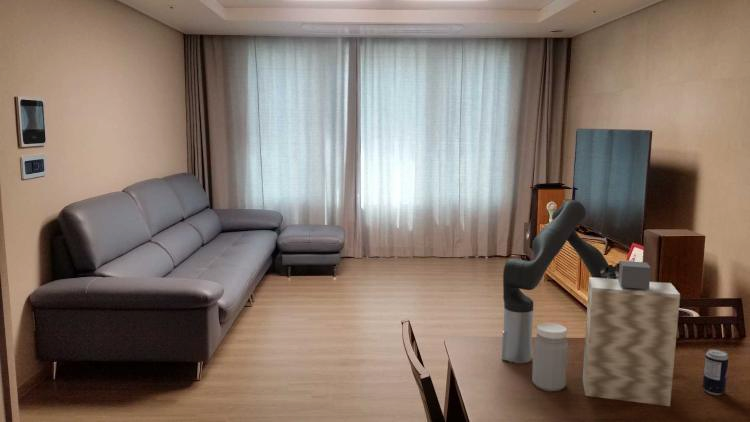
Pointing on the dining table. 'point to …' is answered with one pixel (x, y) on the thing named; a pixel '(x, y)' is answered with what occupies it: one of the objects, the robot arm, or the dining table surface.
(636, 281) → the salmon and grey blocks
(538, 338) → the jar
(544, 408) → the dining table surface
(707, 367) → the beverage can
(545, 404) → the dining table surface
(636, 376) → the beige zigzag box
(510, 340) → the robot arm
